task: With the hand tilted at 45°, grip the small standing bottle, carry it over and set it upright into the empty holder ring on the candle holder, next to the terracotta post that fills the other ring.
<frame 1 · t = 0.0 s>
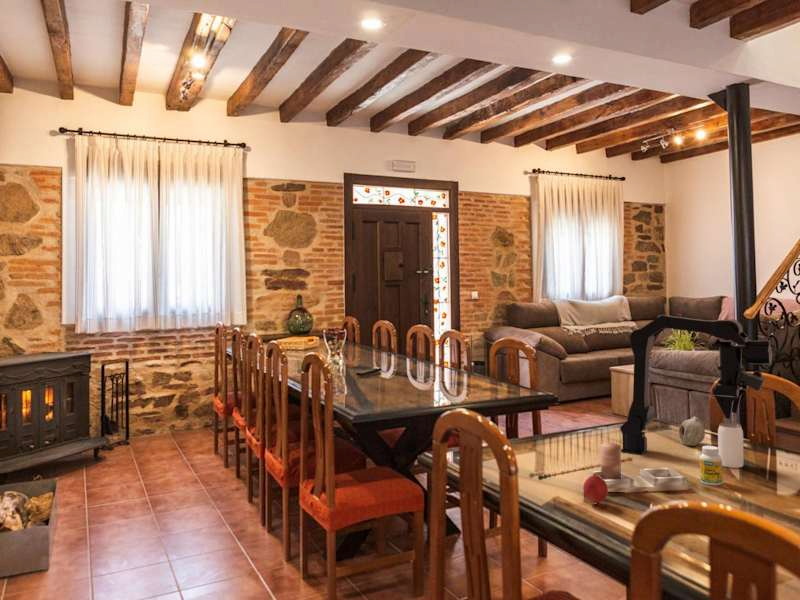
hand: (731, 415, 179), 15 cm above the table, tool pointing down, fingers open, 9 cm apart
grey round lump: (691, 445, 203), on the table
supplement bottle: (711, 483, 165), on the table
can: (730, 466, 180), on the table
candle holder: (662, 484, 164), on the table
onion: (595, 505, 151), on the table
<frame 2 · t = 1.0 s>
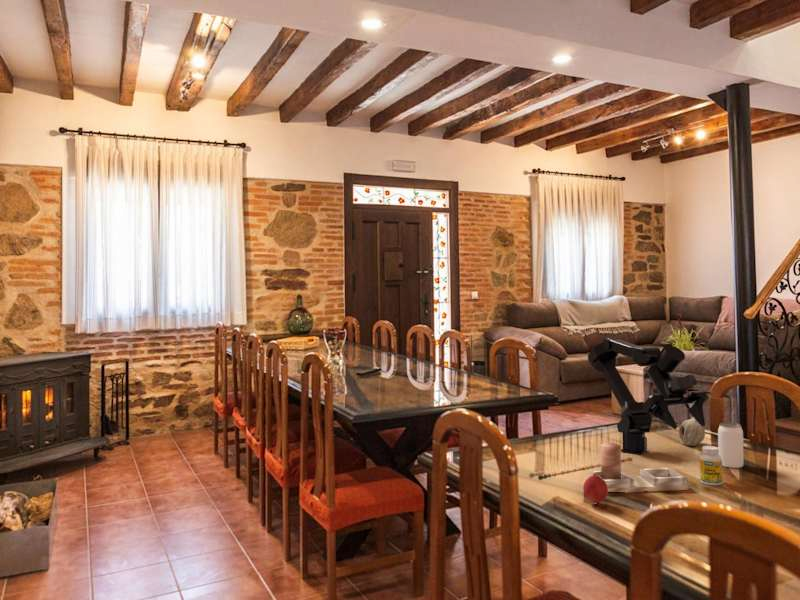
hand: (690, 427, 172), 13 cm above the table, tool tilted 45°, fingers open, 9 cm apart
nothing on the table moved.
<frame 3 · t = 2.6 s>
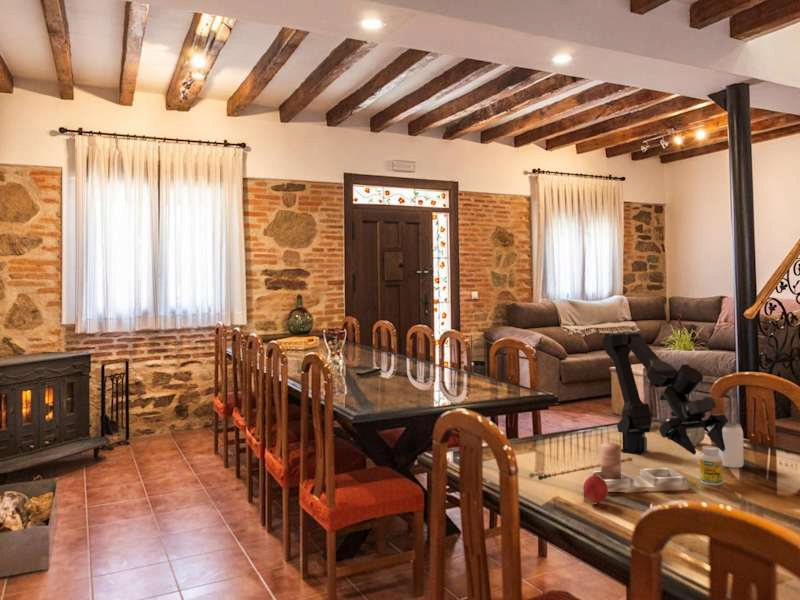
hand: (709, 452, 165), 8 cm above the table, tool tilted 45°, fingers open, 9 cm apart
nothing on the table moved.
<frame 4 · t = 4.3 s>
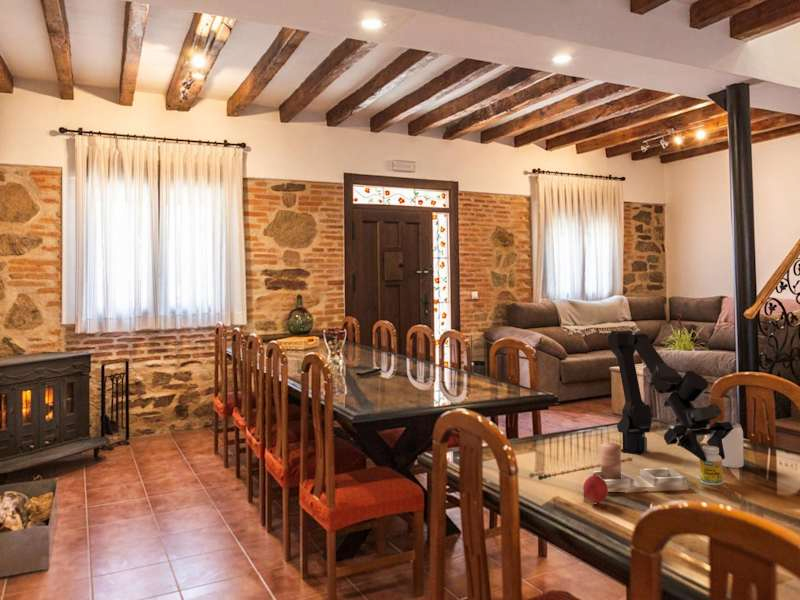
hand: (714, 459, 163), 7 cm above the table, tool tilted 45°, fingers closed on supplement bottle, 5 cm apart
supplement bottle: (711, 483, 165), on the table, touching gripper
everything else where it was.
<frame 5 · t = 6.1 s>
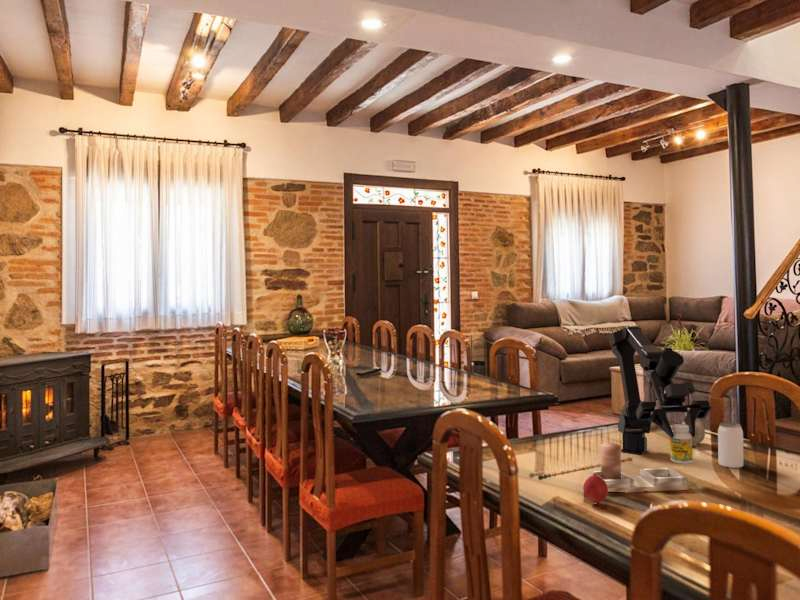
hand: (683, 436, 162), 13 cm above the table, tool tilted 45°, fingers closed on supplement bottle, 5 cm apart
supplement bottle: (681, 461, 164), point 6 cm above the table, touching gripper
everything else where it was.
when the fingers open (9 cm above the table, at t = 8.3 s): supplement bottle stays where it is, resting on candle holder.
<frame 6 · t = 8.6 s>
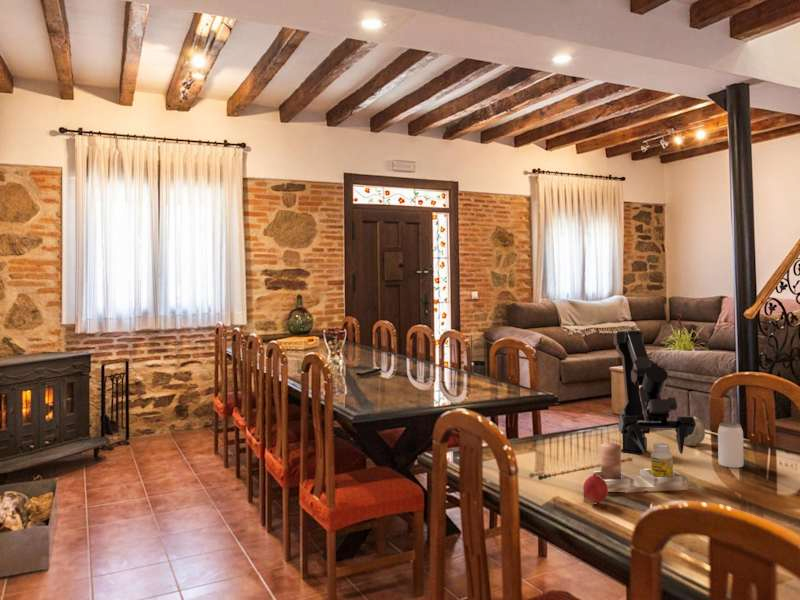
hand: (663, 452, 162), 9 cm above the table, tool tilted 45°, fingers open, 9 cm apart
supplement bottle: (662, 480, 164), point 1 cm above the table, touching candle holder
everything else where it was.
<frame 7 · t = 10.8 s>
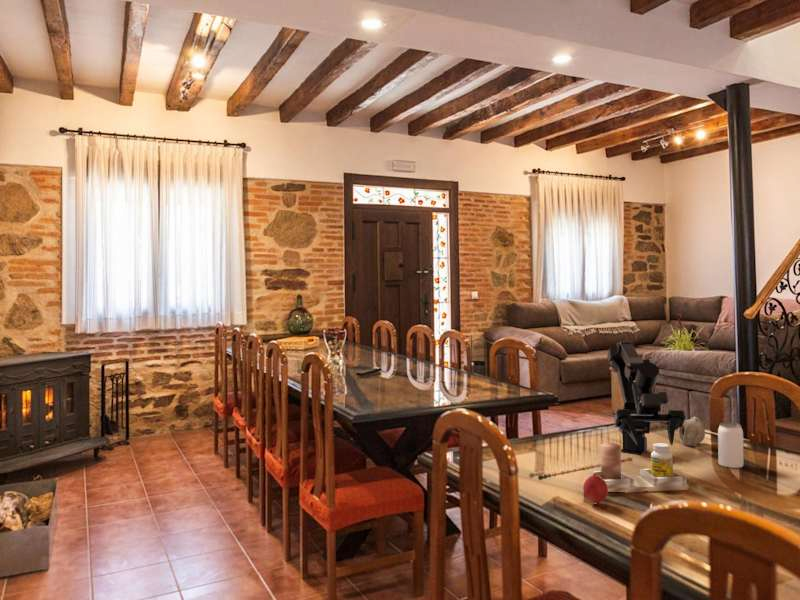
hand: (654, 444, 171), 9 cm above the table, tool tilted 45°, fingers open, 9 cm apart
nothing on the table moved.
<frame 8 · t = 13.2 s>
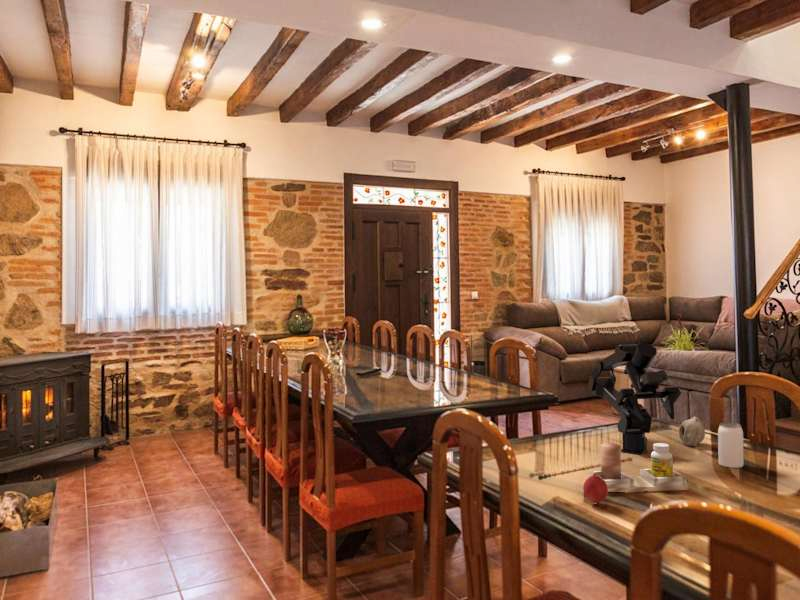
hand: (658, 419, 181), 14 cm above the table, tool tilted 45°, fingers open, 9 cm apart
nothing on the table moved.
at the end: supplement bottle 0.1 cm from the target spot, point 1.0 cm above the table; supplement bottle tilted 0°; the gripper is holding nothing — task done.
